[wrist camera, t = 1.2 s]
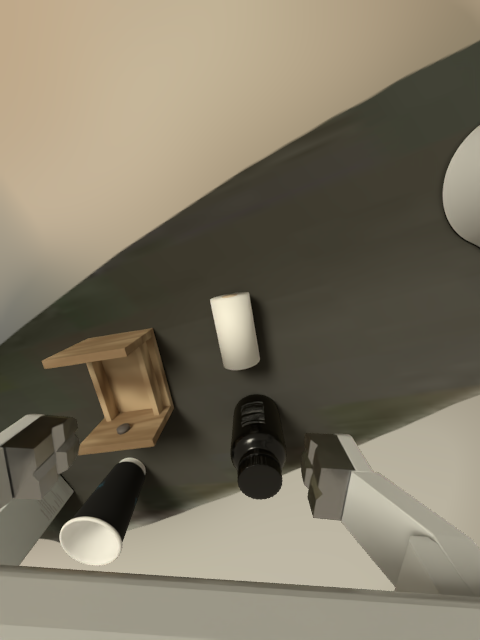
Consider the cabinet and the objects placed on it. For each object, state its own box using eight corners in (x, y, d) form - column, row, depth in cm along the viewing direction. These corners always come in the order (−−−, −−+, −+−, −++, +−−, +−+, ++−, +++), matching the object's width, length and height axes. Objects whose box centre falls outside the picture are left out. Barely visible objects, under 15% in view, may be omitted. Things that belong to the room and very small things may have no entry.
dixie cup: (104, 450, 40) (51, 519, 30) (150, 448, 40) (114, 518, 29) (113, 488, 42) (67, 566, 31) (158, 487, 42) (126, 566, 31)
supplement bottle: (227, 422, 38) (218, 495, 26) (243, 386, 36) (240, 446, 25) (268, 437, 38) (276, 515, 27) (286, 401, 37) (302, 468, 25)
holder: (87, 338, 35) (41, 360, 28) (152, 328, 35) (124, 348, 27) (113, 415, 38) (78, 455, 31) (174, 407, 38) (154, 446, 30)
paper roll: (213, 295, 33) (206, 302, 28) (249, 289, 33) (248, 295, 28) (225, 357, 35) (221, 373, 31) (259, 352, 35) (260, 367, 30)
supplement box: (17, 475, 42) (-78, 563, 30) (50, 460, 41) (-34, 545, 29) (43, 505, 44) (-37, 601, 32) (76, 492, 43) (5, 585, 30)
